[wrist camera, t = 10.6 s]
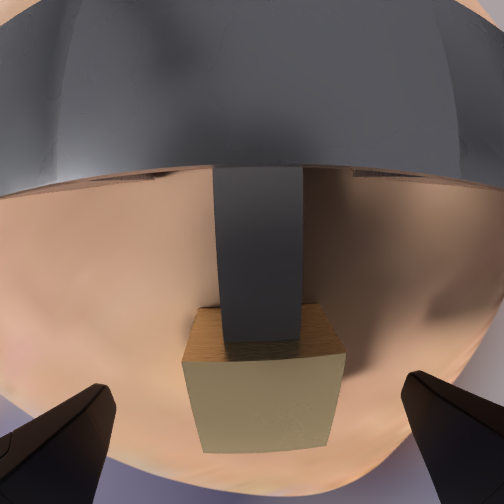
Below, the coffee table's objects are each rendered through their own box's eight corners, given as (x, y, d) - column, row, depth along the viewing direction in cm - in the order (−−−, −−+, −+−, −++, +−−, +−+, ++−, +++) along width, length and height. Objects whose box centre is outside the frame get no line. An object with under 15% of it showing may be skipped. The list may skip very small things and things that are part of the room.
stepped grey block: (204, -4, 6) (188, -75, 3) (291, -5, 6) (312, -74, 3) (211, 310, 9) (195, 387, 5) (303, 306, 9) (337, 378, 5)
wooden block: (198, 308, 9) (181, 361, 6) (318, 303, 9) (346, 352, 6) (213, 411, 10) (207, 466, 7) (307, 406, 10) (322, 460, 7)
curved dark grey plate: (79, 79, 7) (-12, 35, 2) (419, 77, 7) (510, 38, 2) (74, 189, 8) (-36, 206, 3) (427, 183, 8) (536, 197, 3)
